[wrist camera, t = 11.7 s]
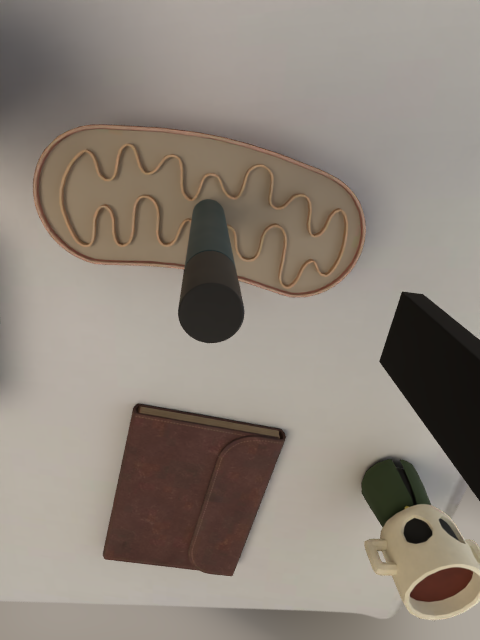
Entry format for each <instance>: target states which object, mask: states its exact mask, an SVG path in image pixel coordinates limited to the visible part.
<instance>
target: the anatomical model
mask: <svg viewBox="0 0 480 640" xmlns="http://www.w3.org/2000/svg"><path fill="white" fill-rule="evenodd" d="M33 196H34V201H35V206H36V209H37V212H38V215H39V217H40V219H41V221H42V223H43V225H44V227H45V228H46V230H47V231H48V233H49V234H50V235H51V237H52V238H53V239H54V240H55V241H56V242H57V243H58V244H59V245H60V246H61V247H63V248H64V249H65V250H66V251H68V252H69V253H71V254H72V255H74V256H76V257H78V258H80V259H82V260H85V261H87V262H90V263H94V264H104V265H138V266H156V267H169V268H177V269H184V268H185V261H186V254H187V247H188V241H189V234H190V227H191V220H192V213H193V209H194V207H195V206H196V204H197V203H199V202H200V201H202V200H205V199H211V200H215V201H217V202H218V203H219V204H220V205H221V206H222V207H223V210H224V213H225V218H226V223H227V228H228V233H229V238H230V242H231V247H232V252H233V257H234V262H235V267H236V272H237V276H238V281H241V282H245V283H248V284H251V285H254V286H257V287H260V288H263V289H266V290H269V291H272V292H275V293H278V294H281V295H285V296H288V297H308V296H313V295H317V294H320V293H322V292H325V291H327V290H328V289H330V288H332V287H334V286H335V285H337V284H338V283H339V282H341V281H342V280H343V279H344V278H345V277H346V276H347V275H348V274H349V273H350V271H351V270H352V269H353V267H354V266H355V264H356V262H357V260H358V259H359V257H360V255H361V252H362V249H363V245H364V242H365V233H366V224H365V218H364V213H363V210H362V207H361V204H360V202H359V200H358V199H357V197H356V196H355V194H354V193H353V192H352V191H351V190H350V188H349V187H348V186H347V185H346V184H344V183H343V182H342V181H341V180H339V179H338V178H336V177H334V176H332V175H330V174H328V173H326V172H324V171H322V170H320V169H317V168H314V167H312V166H309V165H307V164H304V163H302V162H299V161H297V160H294V159H292V158H289V157H287V156H284V155H282V154H279V153H276V152H272V151H269V150H266V149H263V148H260V147H257V146H254V145H251V144H248V143H244V142H240V141H236V140H232V139H228V138H224V137H220V136H215V135H209V134H204V133H199V132H192V131H184V130H176V129H168V128H158V127H141V126H123V125H86V126H80V127H77V128H74V129H71V130H69V131H67V132H65V133H63V134H61V135H60V136H58V137H57V138H56V139H55V140H54V141H53V142H52V143H51V144H50V145H49V146H48V147H47V148H46V149H45V150H44V152H43V153H42V155H41V157H40V159H39V161H38V163H37V166H36V169H35V174H34V179H33Z"/></svg>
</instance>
